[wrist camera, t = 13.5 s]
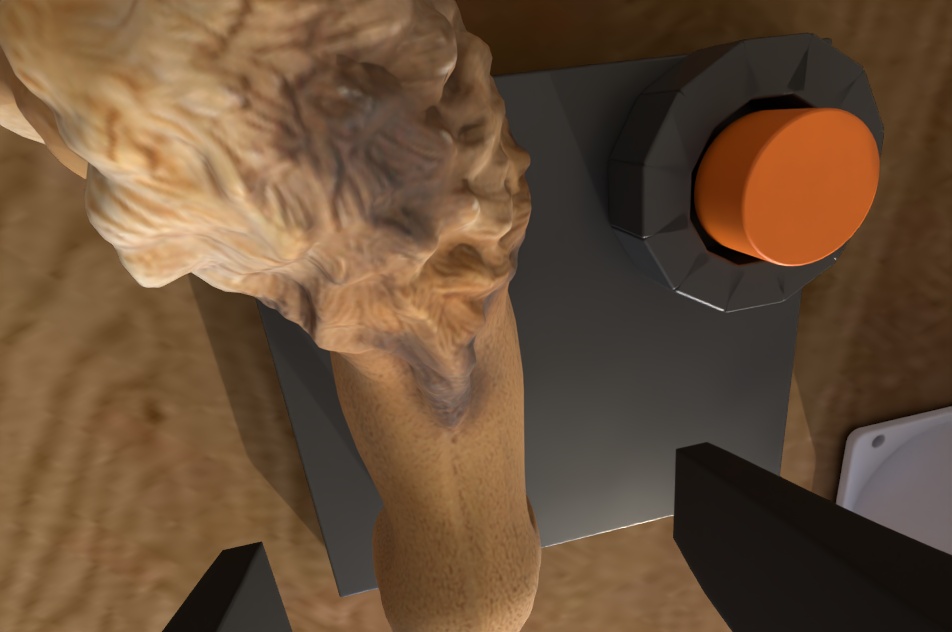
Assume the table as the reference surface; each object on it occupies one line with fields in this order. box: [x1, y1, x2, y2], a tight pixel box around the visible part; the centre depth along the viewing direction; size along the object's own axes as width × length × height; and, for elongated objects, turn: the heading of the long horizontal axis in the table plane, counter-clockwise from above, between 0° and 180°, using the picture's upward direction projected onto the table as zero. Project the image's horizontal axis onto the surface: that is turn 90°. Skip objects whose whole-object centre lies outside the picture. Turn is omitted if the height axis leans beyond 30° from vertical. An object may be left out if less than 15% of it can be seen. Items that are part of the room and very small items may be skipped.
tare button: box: [694, 108, 880, 266], centre depth 12 cm, size 3×3×2 cm
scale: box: [255, 33, 884, 597], centre depth 14 cm, size 15×14×3 cm
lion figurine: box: [0, 0, 541, 632], centre depth 9 cm, size 15×5×9 cm, turn 18°
